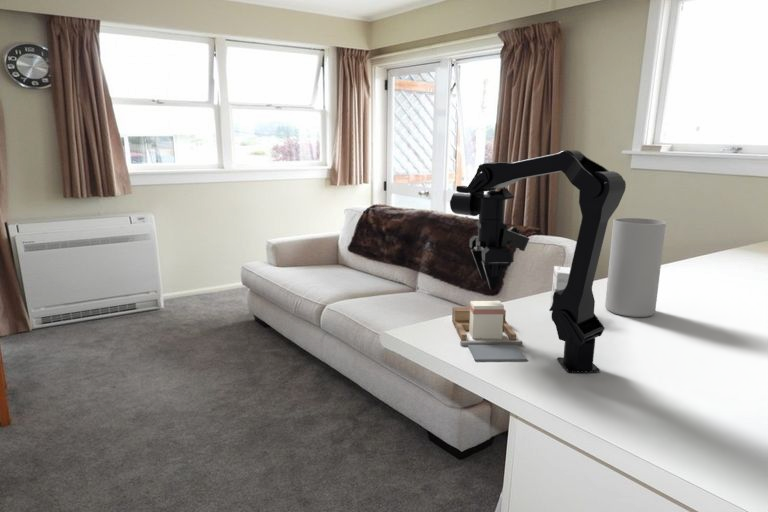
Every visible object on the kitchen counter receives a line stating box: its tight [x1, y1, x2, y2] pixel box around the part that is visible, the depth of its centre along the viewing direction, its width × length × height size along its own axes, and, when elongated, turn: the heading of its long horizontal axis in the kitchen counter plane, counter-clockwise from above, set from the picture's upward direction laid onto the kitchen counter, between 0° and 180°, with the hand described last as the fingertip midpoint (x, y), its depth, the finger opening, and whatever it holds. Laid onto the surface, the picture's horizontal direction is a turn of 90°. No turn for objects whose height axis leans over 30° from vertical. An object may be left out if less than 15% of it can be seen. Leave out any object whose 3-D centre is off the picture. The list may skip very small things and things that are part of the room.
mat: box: [467, 345, 528, 362], centre depth 111 cm, size 8×11×1 cm
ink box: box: [550, 265, 571, 308], centre depth 139 cm, size 8×5×12 cm, turn 168°
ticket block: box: [468, 300, 505, 340], centre depth 121 cm, size 4×7×8 cm, turn 92°
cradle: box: [451, 306, 524, 347], centre depth 123 cm, size 16×14×4 cm
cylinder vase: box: [604, 217, 667, 318], centre depth 138 cm, size 12×12×25 cm
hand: (488, 284), depth 119 cm, fingers open, 9 cm apart
